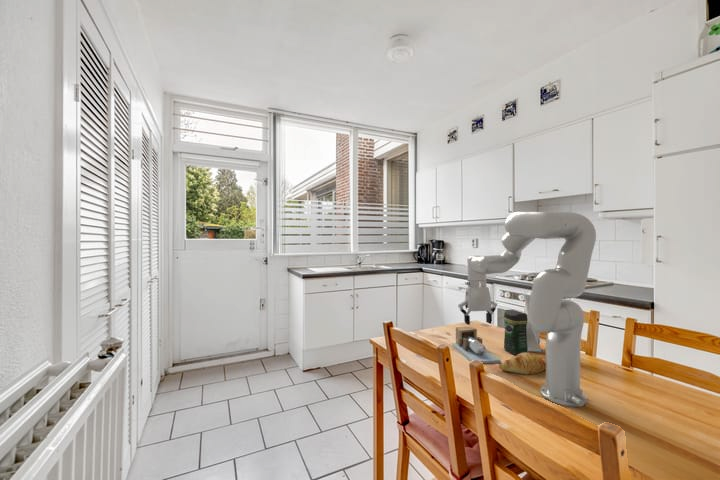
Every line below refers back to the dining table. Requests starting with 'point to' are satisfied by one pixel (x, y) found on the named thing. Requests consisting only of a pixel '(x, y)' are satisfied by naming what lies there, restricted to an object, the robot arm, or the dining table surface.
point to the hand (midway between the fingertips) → (478, 323)
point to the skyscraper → (531, 329)
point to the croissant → (524, 364)
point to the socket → (465, 330)
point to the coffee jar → (515, 332)
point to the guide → (465, 343)
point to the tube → (474, 344)
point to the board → (471, 355)
